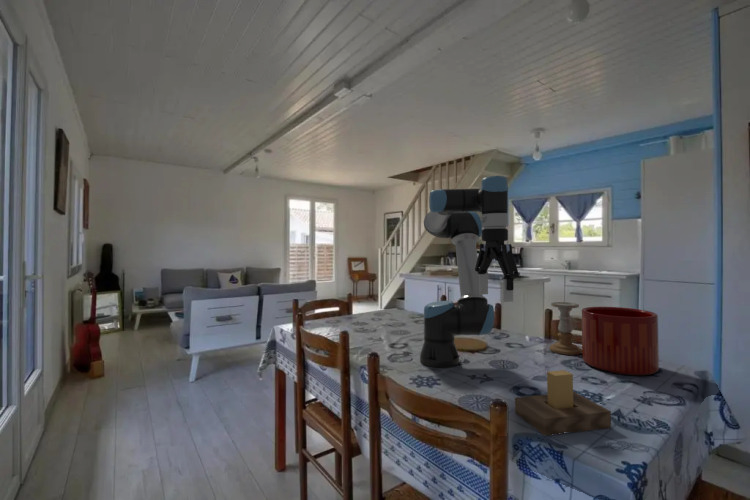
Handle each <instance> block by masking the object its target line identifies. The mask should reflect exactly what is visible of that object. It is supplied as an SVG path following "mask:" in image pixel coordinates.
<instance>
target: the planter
mask: <svg viewBox="0 0 750 500" xmlns="http://www.w3.org/2000/svg"><path fill="white" fill-rule="evenodd" d="M659 341H660V340H659V315H658V314H657V313H655V312H653V311H649V310H645V309H639V308H630V307H622V306H621V307H620V306H619V307H618V306H588V307H584V308H582V309H581V349H582V354H581V355H582V357H581V358H582V360H583V361H584V363H586V364H587V365H588V366H590V367H592V368H594V369H597V370H599V371H601V372H602V371H603V372H606V373H611V374H614V375H615V374H616V375H622V376H630V377H631V376H634V377H636V376H637V377H638V376H639V377H642V376H643V377H644V376H649V375H653V374H655V373H657V372H659V370H660V354H659V352H660V351H659V350H660V349H659V347H660V345H659V344H660V343H659Z"/></svg>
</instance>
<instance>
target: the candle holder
mask: <svg viewBox="0 0 750 500" xmlns="http://www.w3.org/2000/svg"><path fill="white" fill-rule="evenodd" d="M550 306H552V307H554V308H557V309H558V311H559V312H560V314H559V315H558V319H559V323H558V325H557V326H558V327H557V329H558V333H557V336H558V338H559V339H558V342H554V343H553V344H550V345H549V351H551V352H553V353H556V354H559V355H565V356H566V355H567V356H579V355H582V347H579V346H578V345H577V344H575V343H573V342H572V341H573V340H572V339H573V337H574V335H573V333H572V332H573V326H572V323H571V320H572V319H573V318H572V316H571V315H570V313H571V311H573V309H577V308H580V307H579V306H580V304H578V303H576V302H570V301H569V302H566V301H560V302H559V301H555V302H554V301H553V302H551V303H550Z"/></svg>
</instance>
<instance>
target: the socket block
mask: <svg viewBox="0 0 750 500" xmlns="http://www.w3.org/2000/svg"><path fill="white" fill-rule="evenodd" d="M514 413H515V414H516V415H518V416H519V417H520V418H521V419H523V420H524V421H525V422H526V421H527V422H526V423H528V424H529V423H530V424H531V425H532V426H531V425H530V424H529V425H530V426H531V427H533V428H534V429H535V428H536V429H537V430H536V429H535V430H536V431H538V432H539V433H540V434H542V435H543V436H544V435H546V436H545V437H548V436H547V435H550V436H553V435H552V434H558V435H560V434H559V433H564V432H574V433H579V432H578V431H582V432H588V430H590V431H597V430H596V429H598V430H605V428H606V429H611V428H612V411H611V410H609V409H607V408H605V407H603V406H601V405H599V404H598V403H596V402H594V401H592V400H591V399H588V398H587V397H585V396H583V395H581V394H579V393H577V392H575V391H573V408H564V409H554V408H552V407H551V406H549V405H548V394H539V395H529V396H527V395H526V396H519V397H514Z"/></svg>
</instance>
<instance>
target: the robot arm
mask: <svg viewBox="0 0 750 500" xmlns="http://www.w3.org/2000/svg"><path fill="white" fill-rule="evenodd" d="M508 184H509V183H508V178H507V177H506V176H503V175H492V176H485V177H483V178H482V179H481V185H480V188H452V189H451V188H447V189H445V188H443V189H442V188H440V189H433V190H430V192H429V196H428V197H429V198H428V203H429V204H428V205H429V211H428V212H427V213H426V215H425V216H424V220H423V226H424V228H425V230H426V232H427V233H429V235H432V236H434V237H435V238H436V237H437V238H439V239H450V240H451V244H452V245H454V246H455V253H456V263H457V265H456V266H457V273H458V274H457V275H458V284H459V293H460V294H459V296H460V297H459V298H458V300H457V304H455V302H454V301H453V300H439V301H433V302H429V303H427V304H426V305H425V306H424V308H423V316H422V317H423V336H424V338H423V345H422V348H421V352H420V355H419V362H420V363H421V364H423V365H424V366H428V367H433V368H443V369H444V368H451V367H455V366H456V367H457V366H458V365H459V364H460V355H459V352H458V349H457V347H456V343H455V336H483V335H484V336H485V335H489V334H491V332H492V330H493V328H494V324H495V308H494V305H492V304H491V303H489V302H488V298H486V296H485V295H488V294H489V275H488V274H489V273H488V270H489V268H490V265H491V264H492V261H493V260H495V261H496V262H497V264H498V265H499V267H500V270H501V272H502V275H503V277H502V297H503V298H502V302H503V303H508V302H512V303H513V302H514V279H516V278H519V277H520V274H519V271H518V267H517V264H516V260H515V256H514V254H513V245H512V244H511V243H509V244H508V243H507V244H506V243H505V242H507V241H508V239H509V230H508V229H507V227H508V226H509V210H508V207H509V204H508V203H509V199H508V198H509V196H508V195H509V193H508V192H509V185H508ZM477 212H479V213H481V217H480V214H478V213H477ZM480 238H481V241H482V242H485V243H480V244H479V252H478V250H477V243H478V242H479V240H480Z"/></svg>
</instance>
